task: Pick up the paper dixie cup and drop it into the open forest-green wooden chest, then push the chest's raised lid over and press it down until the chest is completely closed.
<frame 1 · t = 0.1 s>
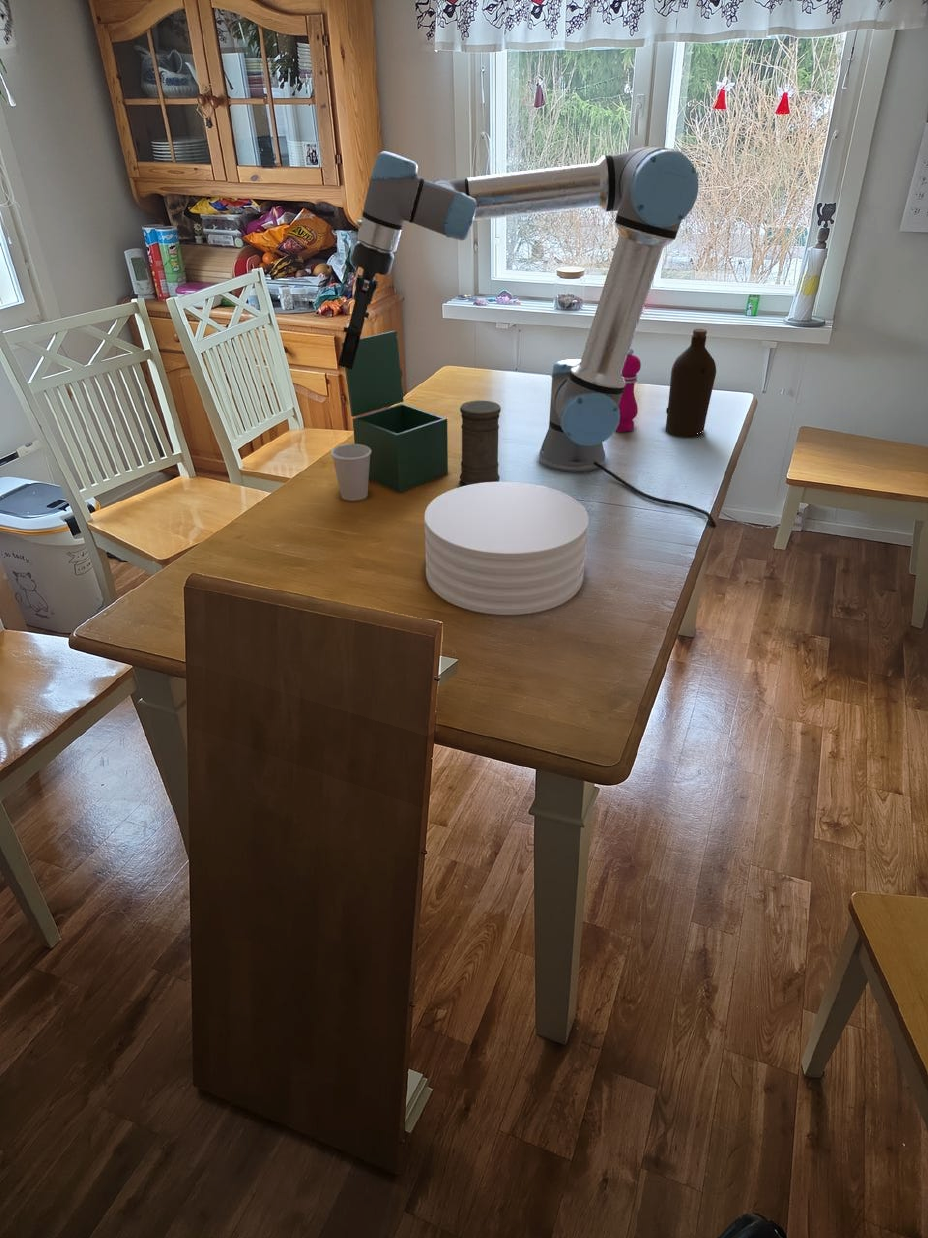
hand: (347, 357, 158), 28 cm above the table, tool tilted 20°, fingers open, 13 cm apart
pepper mill: (621, 428, 205), on the table
container: (479, 487, 173), on the table
olive oil: (683, 432, 202), on the table
lid: (368, 372, 173), point 21 cm above the table, hinge at 95.0°
chest: (402, 473, 179), on the table
plate stack: (504, 573, 142), on the table
dixie cup: (354, 496, 169), on the table
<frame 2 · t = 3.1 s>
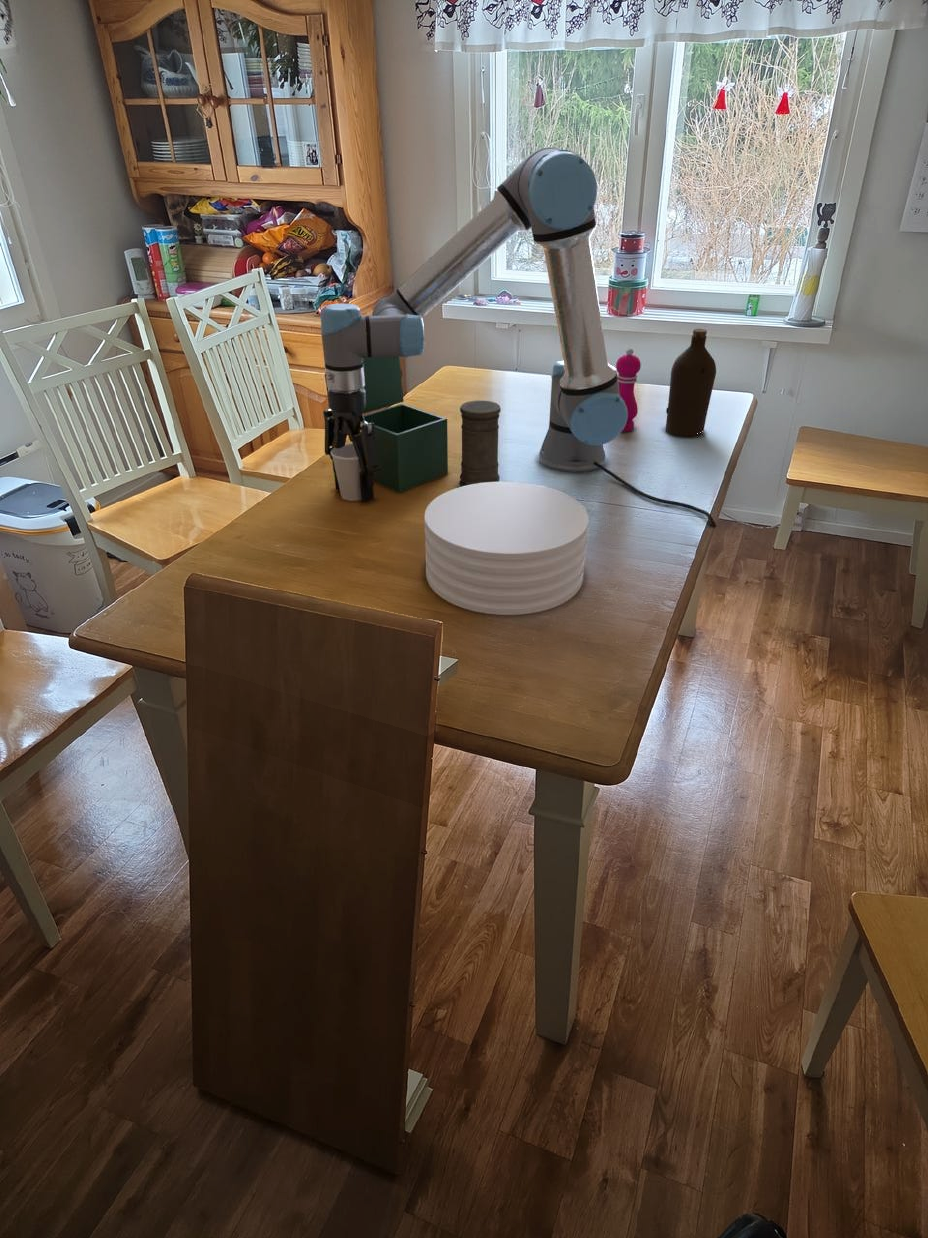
hand: (354, 494, 169), 0 cm above the table, tool pointing down, fingers closed on dixie cup, 8 cm apart
dixie cup: (354, 496, 169), on the table, touching gripper
everything else where it was.
when the fingers open (13 cm above the table, at t = 9.5 s): dixie cup stays where it is, resting on chest.
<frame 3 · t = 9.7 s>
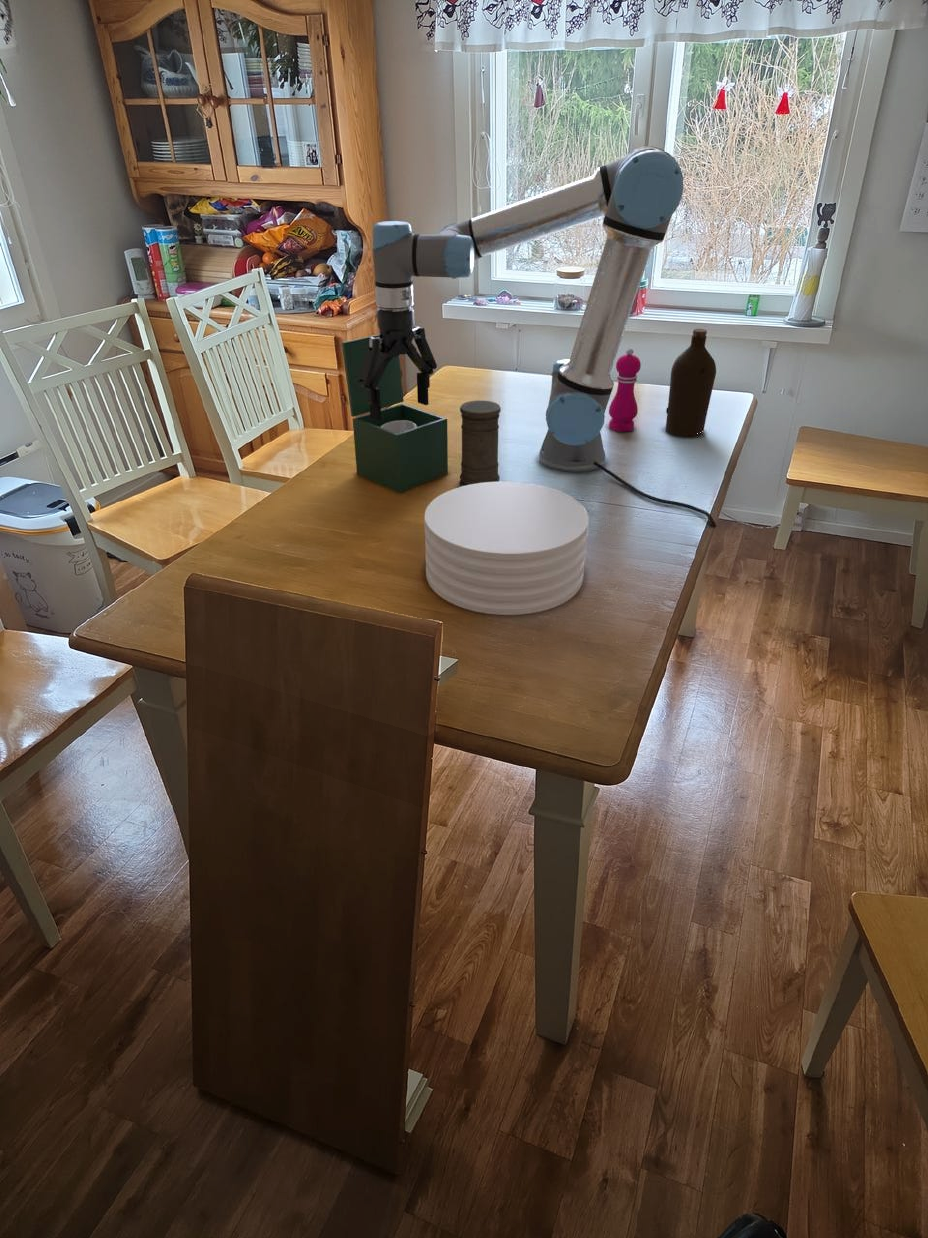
hand: (400, 410, 171), 14 cm above the table, tool pointing down, fingers open, 13 cm apart
dixie cup: (402, 470, 178), point 1 cm above the table, touching chest
everything else where it was.
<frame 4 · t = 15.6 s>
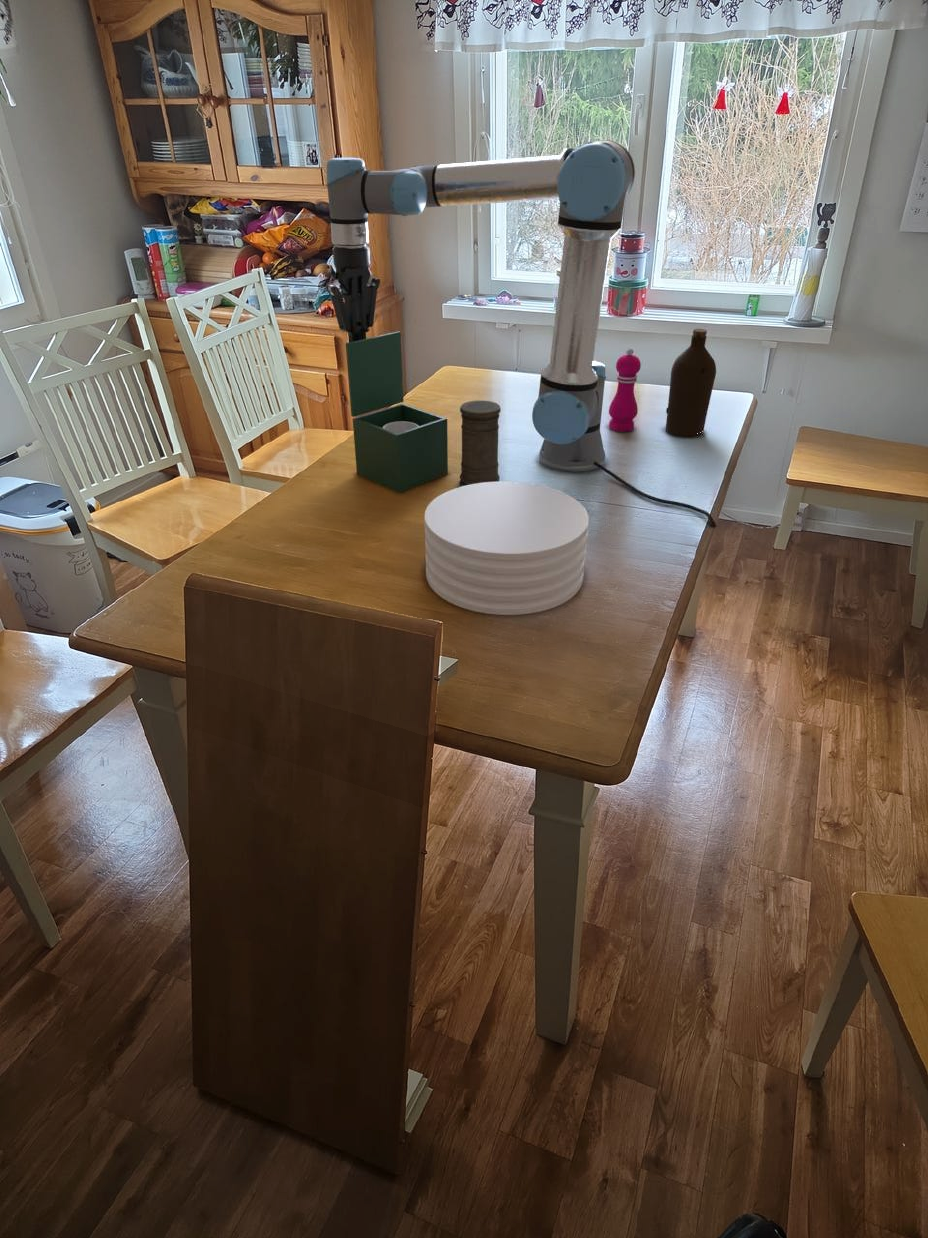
hand: (359, 362, 174), 22 cm above the table, tool pointing down, fingers closed
lid: (370, 372, 173), point 21 cm above the table, hinge at 90.0°, touching gripper
everything else where it was.
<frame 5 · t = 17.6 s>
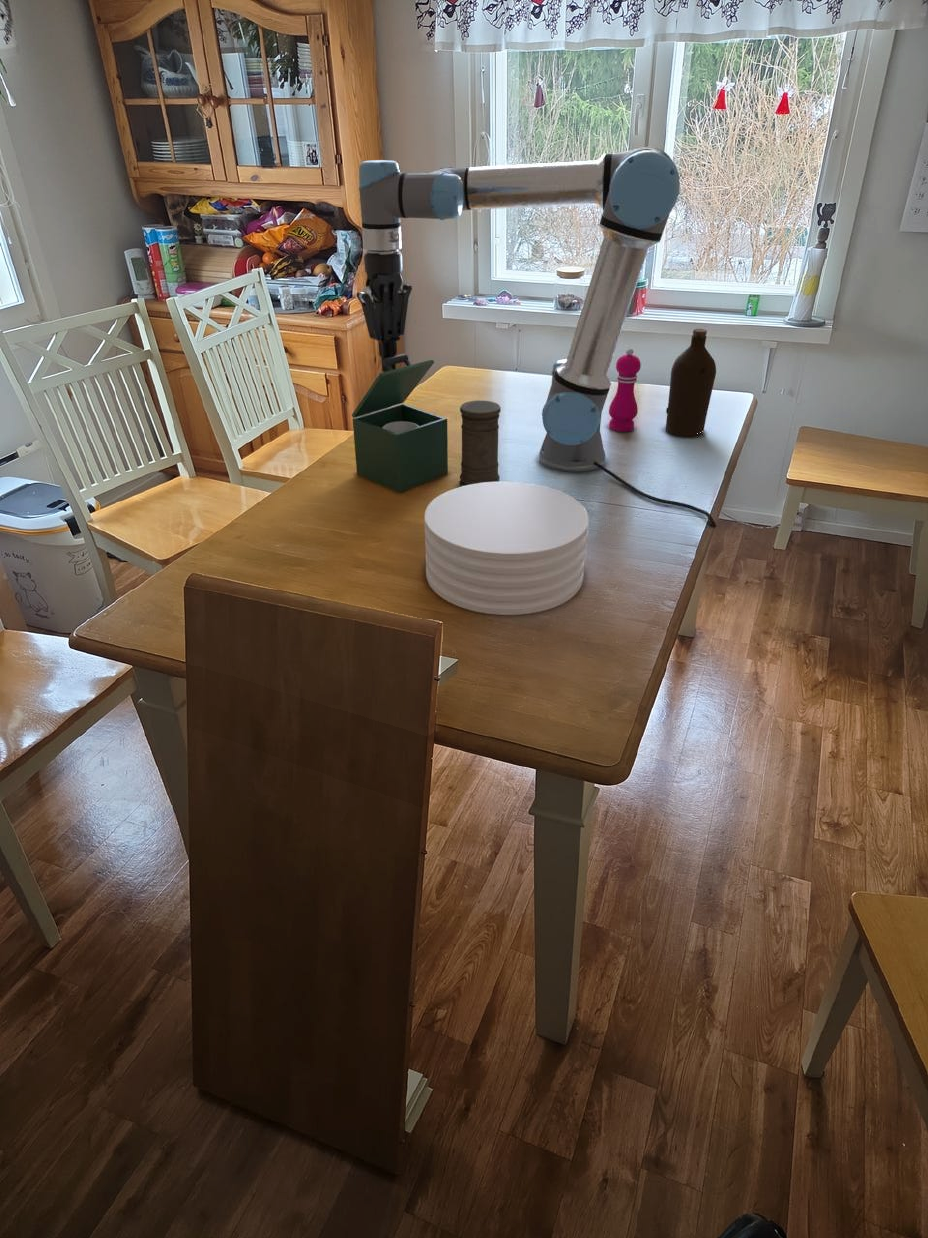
hand: (389, 371, 169), 22 cm above the table, tool pointing down, fingers closed
lid: (388, 381, 170), point 20 cm above the table, hinge at 46.6°, touching gripper
everything else where it was.
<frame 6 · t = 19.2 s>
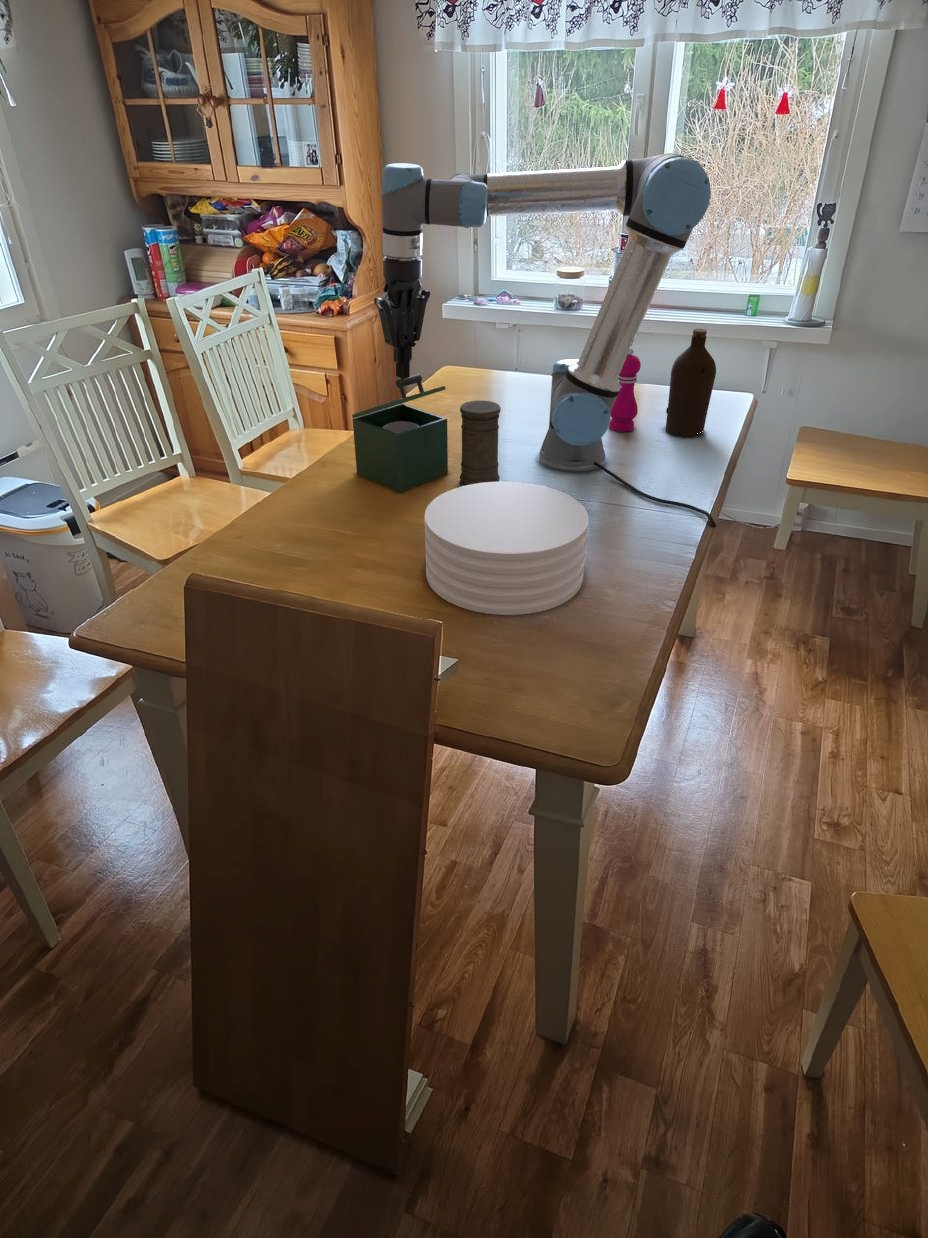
hand: (402, 376, 166), 22 cm above the table, tool pointing down, fingers closed
lid: (395, 393, 170), point 18 cm above the table, hinge at 23.8°, touching gripper
everything else where it was.
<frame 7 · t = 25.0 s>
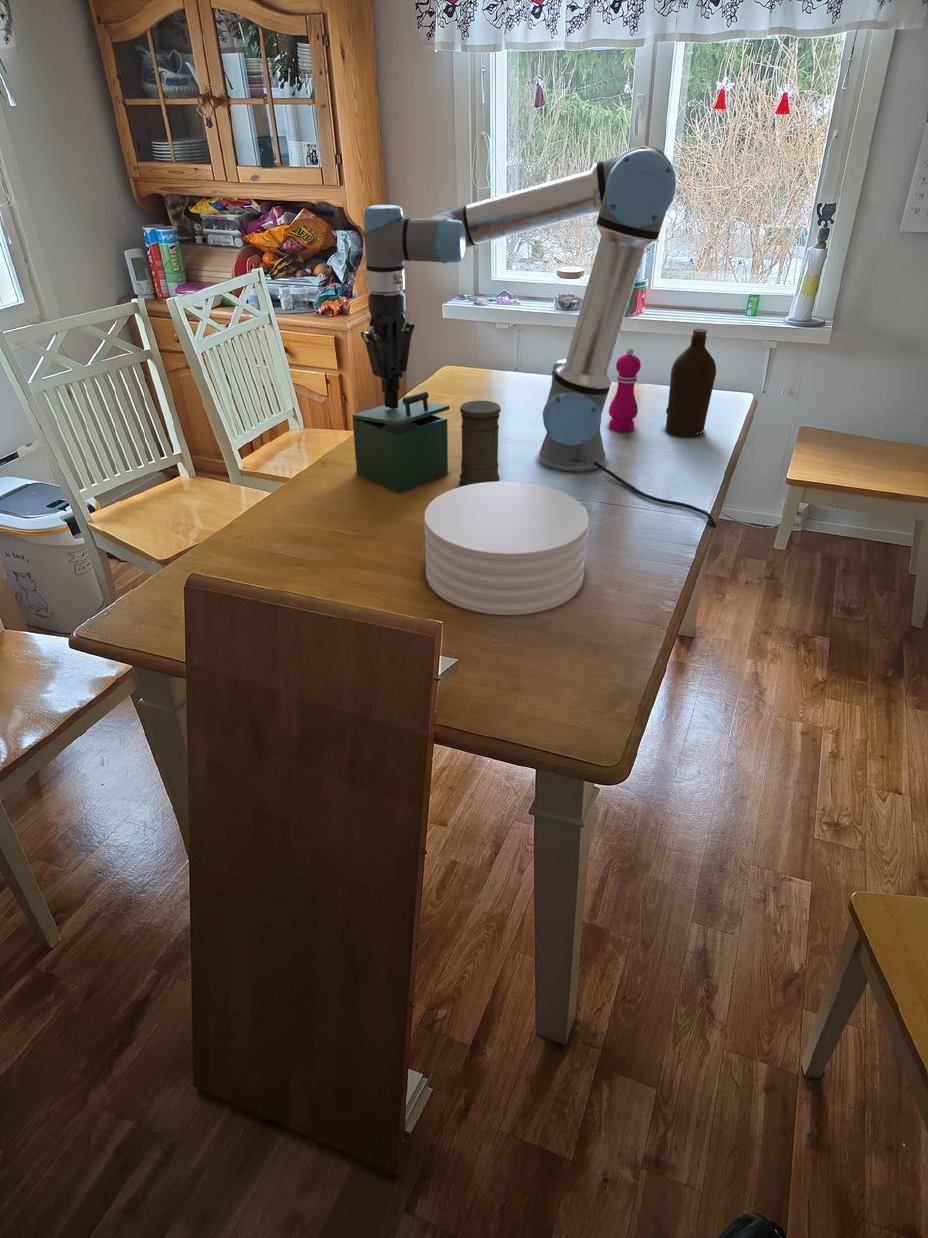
hand: (391, 406, 172), 15 cm above the table, tool pointing down, fingers closed
lid: (399, 403, 170), point 16 cm above the table, hinge at 8.0°, touching gripper
everything else where it was.
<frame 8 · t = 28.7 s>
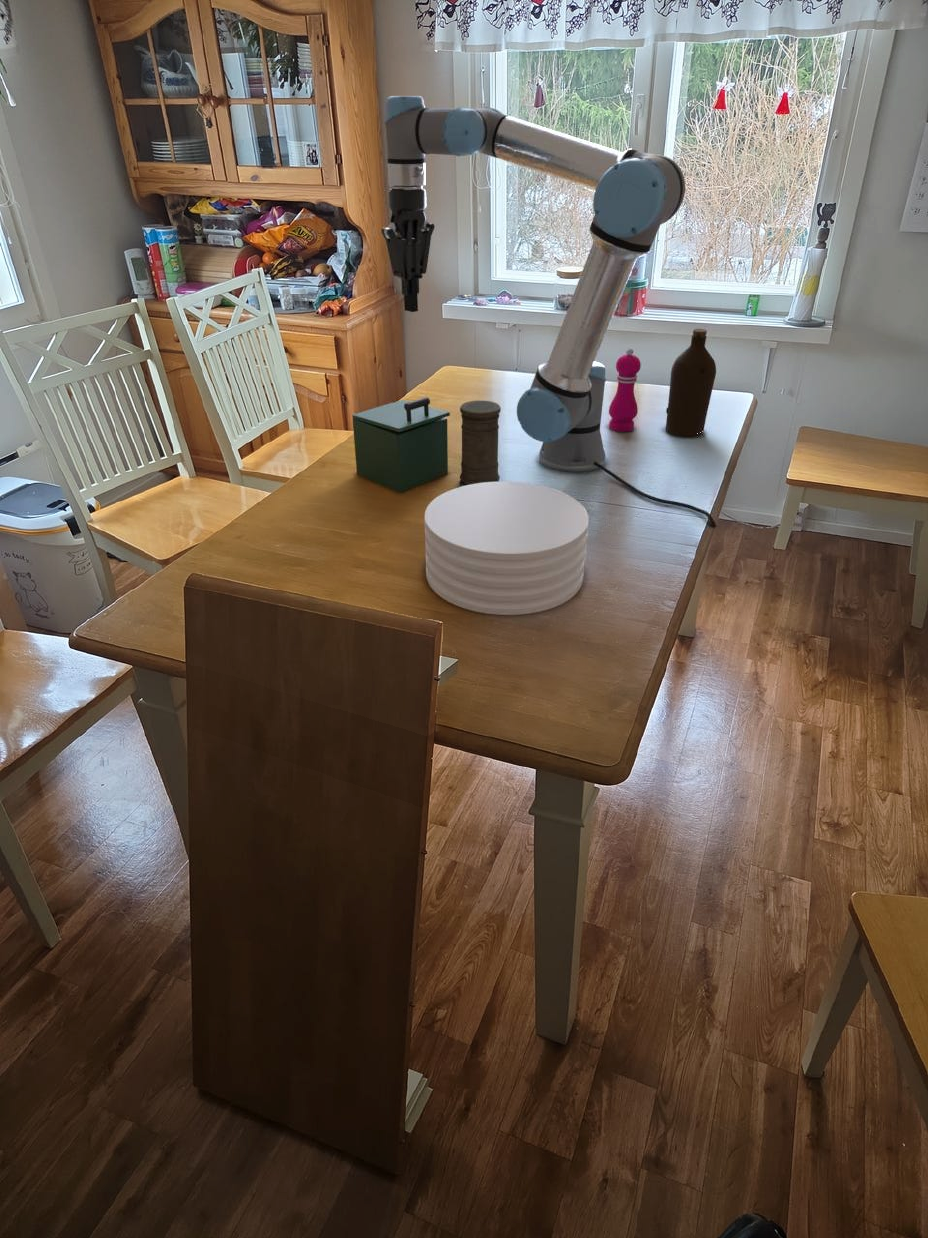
hand: (411, 310, 172), 32 cm above the table, tool pointing down, fingers closed
lid: (400, 406, 170), point 16 cm above the table, hinge at 2.9°
everything else where it was.
at the end: dixie cup inside the target area in the chest (0.1 cm from its centre), point 0.6 cm above the chest's base; lid at +3° (first picture: +95°) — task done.
